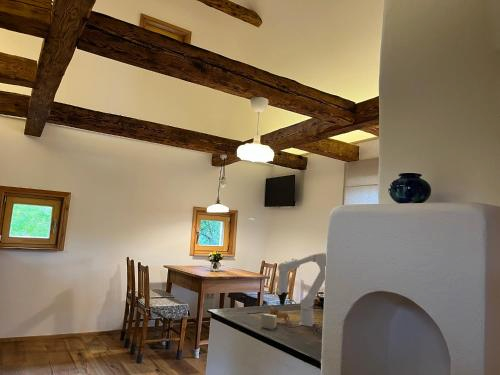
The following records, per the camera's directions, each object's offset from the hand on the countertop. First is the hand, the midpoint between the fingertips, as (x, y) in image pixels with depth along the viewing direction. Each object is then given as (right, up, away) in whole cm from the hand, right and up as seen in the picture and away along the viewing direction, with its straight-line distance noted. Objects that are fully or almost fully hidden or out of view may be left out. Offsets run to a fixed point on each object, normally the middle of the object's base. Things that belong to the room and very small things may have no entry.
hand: (282, 304), depth 234 cm
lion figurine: (-3, -9, -9) cm, 13 cm away
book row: (-9, -7, -17) cm, 21 cm away
